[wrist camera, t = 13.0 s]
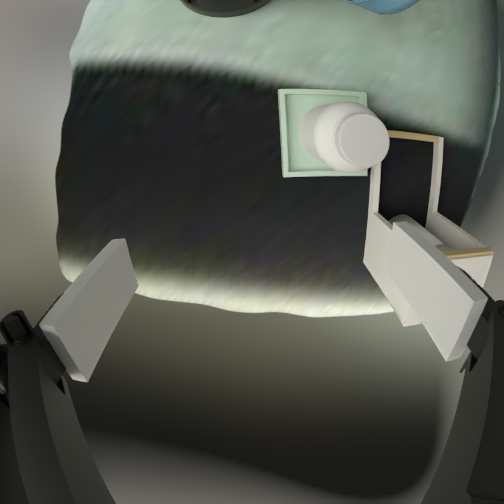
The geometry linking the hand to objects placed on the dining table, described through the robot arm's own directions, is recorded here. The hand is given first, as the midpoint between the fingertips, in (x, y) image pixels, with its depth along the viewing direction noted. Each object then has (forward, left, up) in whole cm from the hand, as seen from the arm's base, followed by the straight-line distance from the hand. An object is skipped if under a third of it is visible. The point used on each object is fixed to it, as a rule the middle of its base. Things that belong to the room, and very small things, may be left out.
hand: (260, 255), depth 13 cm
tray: (-4, +10, -29) cm, 31 cm away
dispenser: (+6, +24, -29) cm, 38 cm away
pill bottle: (-4, +10, -28) cm, 30 cm away
